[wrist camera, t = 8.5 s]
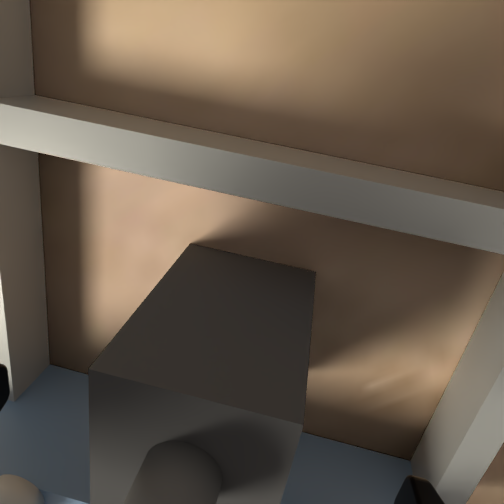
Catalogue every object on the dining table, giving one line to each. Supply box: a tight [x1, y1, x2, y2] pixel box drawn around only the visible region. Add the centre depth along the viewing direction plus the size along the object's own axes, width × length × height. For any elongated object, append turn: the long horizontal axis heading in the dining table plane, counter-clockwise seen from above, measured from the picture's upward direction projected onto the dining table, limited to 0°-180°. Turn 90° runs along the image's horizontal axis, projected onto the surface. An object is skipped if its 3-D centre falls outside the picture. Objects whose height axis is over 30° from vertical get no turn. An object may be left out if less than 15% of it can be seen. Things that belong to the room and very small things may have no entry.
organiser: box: [0, 0, 504, 504], centre depth 9 cm, size 22×16×6 cm
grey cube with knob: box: [88, 244, 316, 504], centre depth 10 cm, size 4×4×8 cm
